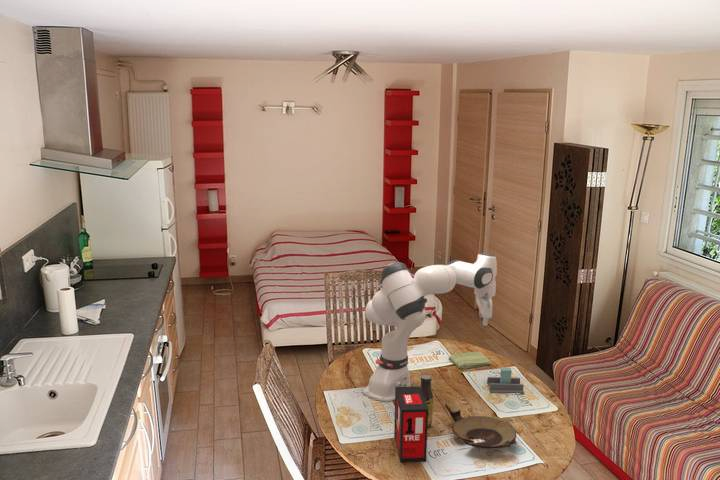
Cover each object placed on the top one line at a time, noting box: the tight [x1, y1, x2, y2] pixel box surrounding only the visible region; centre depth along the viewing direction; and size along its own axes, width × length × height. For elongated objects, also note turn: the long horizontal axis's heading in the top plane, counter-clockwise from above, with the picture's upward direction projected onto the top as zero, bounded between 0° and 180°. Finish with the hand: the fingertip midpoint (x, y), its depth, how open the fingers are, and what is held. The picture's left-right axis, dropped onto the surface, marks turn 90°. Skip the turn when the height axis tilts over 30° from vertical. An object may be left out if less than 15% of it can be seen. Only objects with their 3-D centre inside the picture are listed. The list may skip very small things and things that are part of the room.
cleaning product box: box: [393, 385, 428, 464], centre depth 210 cm, size 16×9×20 cm, turn 4°
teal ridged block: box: [499, 367, 513, 384], centre depth 257 cm, size 4×3×8 cm
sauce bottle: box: [420, 374, 434, 429], centre depth 226 cm, size 6×6×20 cm
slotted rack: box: [486, 376, 525, 395], centre depth 257 cm, size 14×10×4 cm
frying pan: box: [444, 402, 517, 450], centre depth 219 cm, size 22×30×8 cm
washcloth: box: [448, 351, 493, 370], centre depth 283 cm, size 13×18×3 cm
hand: (483, 320), depth 256 cm, fingers open, 8 cm apart
